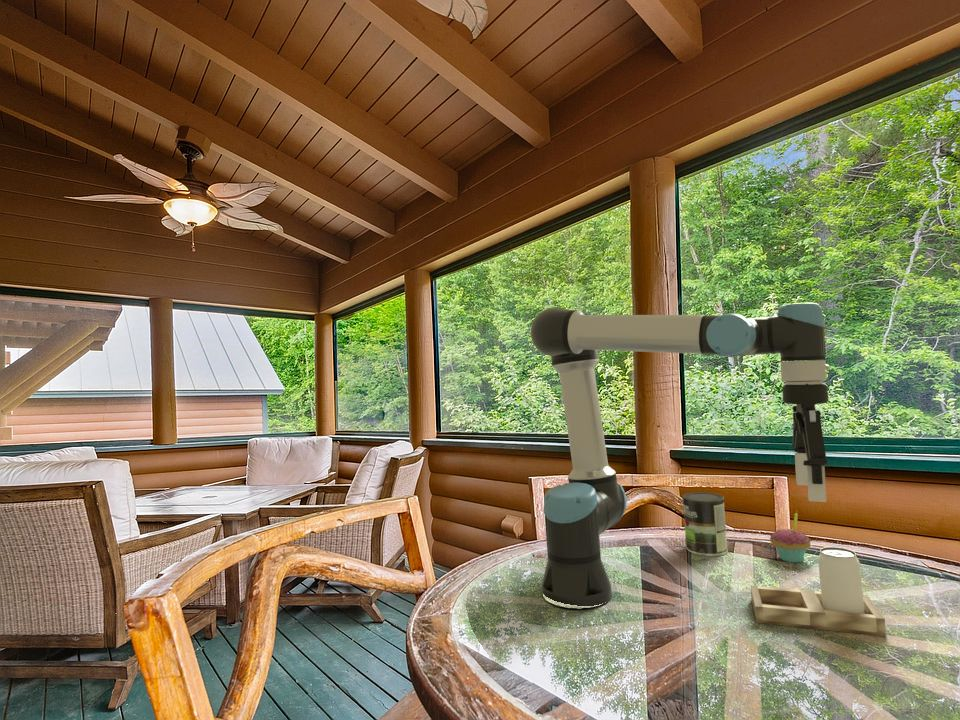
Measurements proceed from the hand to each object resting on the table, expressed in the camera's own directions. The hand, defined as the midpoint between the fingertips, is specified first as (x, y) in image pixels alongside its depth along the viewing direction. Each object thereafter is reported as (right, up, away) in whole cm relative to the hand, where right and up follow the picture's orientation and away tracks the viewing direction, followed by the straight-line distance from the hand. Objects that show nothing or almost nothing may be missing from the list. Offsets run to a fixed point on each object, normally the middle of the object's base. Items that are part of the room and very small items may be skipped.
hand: (810, 492), depth 101 cm
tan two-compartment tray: (-1, -23, -2) cm, 23 cm away
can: (+4, -22, -4) cm, 23 cm away
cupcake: (+12, -23, +27) cm, 38 cm away
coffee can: (-4, -25, +37) cm, 45 cm away
